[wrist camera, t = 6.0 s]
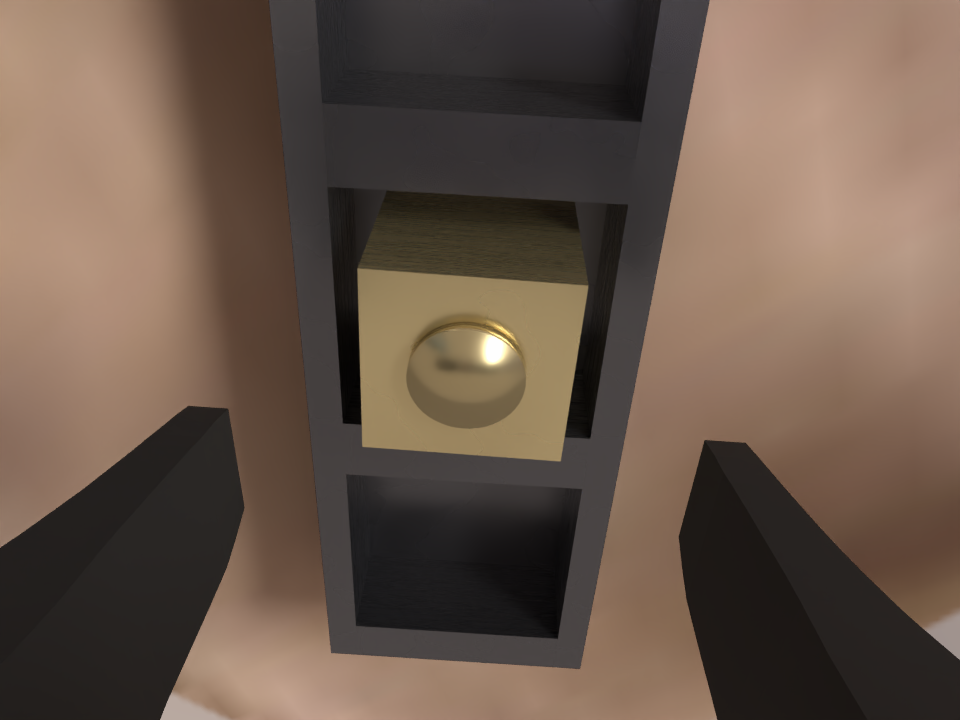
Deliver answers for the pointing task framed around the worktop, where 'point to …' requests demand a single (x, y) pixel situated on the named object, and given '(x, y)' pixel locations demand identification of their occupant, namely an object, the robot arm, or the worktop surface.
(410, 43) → the cabinet frame
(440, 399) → the wooden knob block
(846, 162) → the worktop surface
